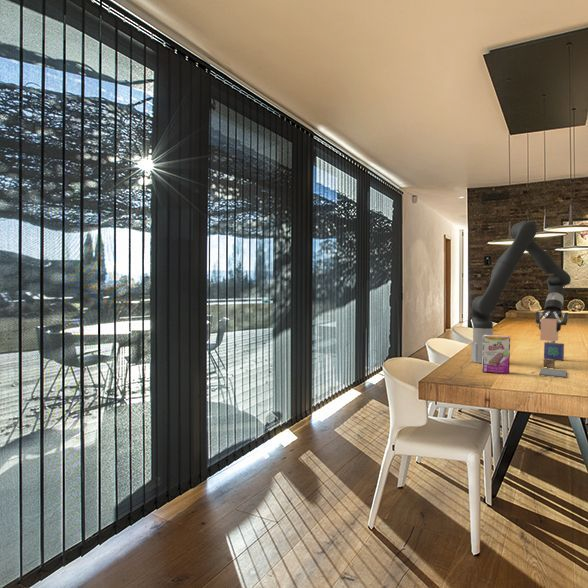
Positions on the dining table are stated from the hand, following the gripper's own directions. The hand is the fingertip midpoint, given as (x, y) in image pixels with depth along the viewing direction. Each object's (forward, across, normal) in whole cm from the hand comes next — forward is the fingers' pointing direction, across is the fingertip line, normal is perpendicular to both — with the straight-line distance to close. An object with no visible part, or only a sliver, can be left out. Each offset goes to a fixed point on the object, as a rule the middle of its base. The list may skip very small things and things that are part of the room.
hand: (549, 329), depth 224 cm
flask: (-7, -2, +33) cm, 34 cm away
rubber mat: (+24, +4, +2) cm, 24 cm away
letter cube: (+12, 0, +13) cm, 18 cm away
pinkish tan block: (+3, 0, +4) cm, 5 cm away
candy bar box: (+33, -16, -7) cm, 37 cm away
